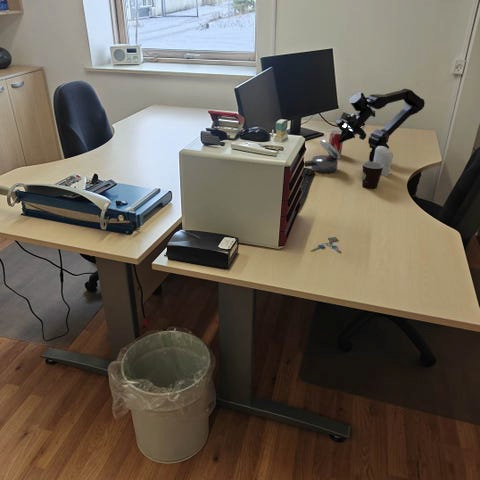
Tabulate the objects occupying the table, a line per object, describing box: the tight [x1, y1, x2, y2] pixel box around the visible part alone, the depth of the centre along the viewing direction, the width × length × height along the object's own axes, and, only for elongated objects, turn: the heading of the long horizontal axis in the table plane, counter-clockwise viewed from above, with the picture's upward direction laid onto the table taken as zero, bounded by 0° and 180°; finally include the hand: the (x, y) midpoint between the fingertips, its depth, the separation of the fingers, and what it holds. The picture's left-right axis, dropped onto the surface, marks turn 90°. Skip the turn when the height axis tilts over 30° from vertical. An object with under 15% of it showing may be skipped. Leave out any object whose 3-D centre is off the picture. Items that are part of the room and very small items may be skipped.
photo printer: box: [373, 146, 394, 177], centre depth 207 cm, size 10×4×12 cm, turn 17°
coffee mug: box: [361, 161, 383, 190], centre depth 193 cm, size 12×9×10 cm
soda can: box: [327, 130, 344, 157], centre depth 229 cm, size 7×7×12 cm
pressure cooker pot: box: [304, 154, 339, 175], centre depth 211 cm, size 18×12×5 cm, turn 113°
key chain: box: [310, 236, 342, 253], centre depth 148 cm, size 14×8×1 cm, turn 141°
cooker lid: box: [319, 139, 342, 160], centre depth 209 cm, size 12×12×2 cm
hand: (338, 142), depth 209 cm, fingers closed
